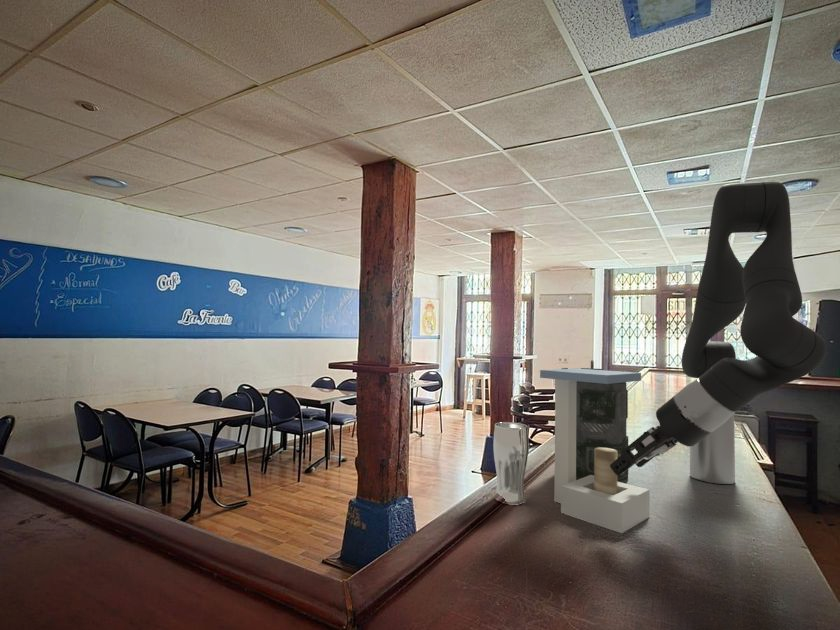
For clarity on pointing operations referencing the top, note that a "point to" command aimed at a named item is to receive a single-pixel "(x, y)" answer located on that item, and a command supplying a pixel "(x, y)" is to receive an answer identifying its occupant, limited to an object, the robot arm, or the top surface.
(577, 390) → the canister
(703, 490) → the top surface
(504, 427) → the beer glass
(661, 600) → the top surface
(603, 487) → the peg
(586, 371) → the kiosk
